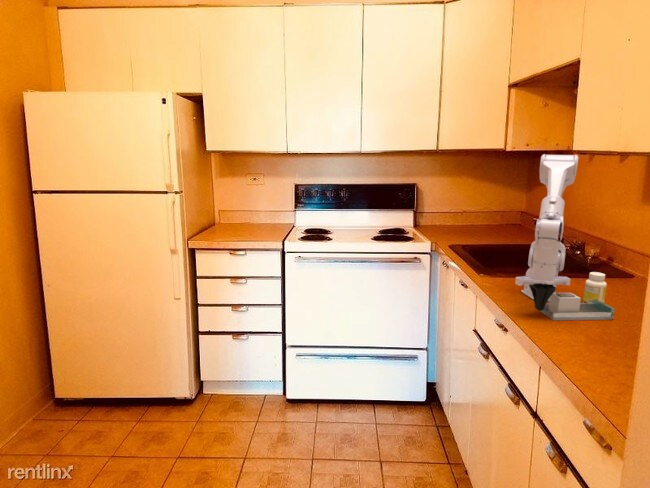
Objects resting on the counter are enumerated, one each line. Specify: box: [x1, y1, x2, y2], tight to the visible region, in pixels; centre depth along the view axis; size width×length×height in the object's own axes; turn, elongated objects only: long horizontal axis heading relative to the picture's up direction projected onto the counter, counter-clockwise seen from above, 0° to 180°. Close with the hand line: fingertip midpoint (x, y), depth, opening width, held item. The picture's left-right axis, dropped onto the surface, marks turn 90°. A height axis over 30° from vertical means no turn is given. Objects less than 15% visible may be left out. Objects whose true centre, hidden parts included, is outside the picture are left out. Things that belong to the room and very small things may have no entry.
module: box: [548, 292, 582, 313], centre depth 121 cm, size 4×6×5 cm
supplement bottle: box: [582, 271, 608, 303], centre depth 129 cm, size 5×5×10 cm
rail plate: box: [539, 299, 615, 321], centre depth 122 cm, size 17×8×3 cm, turn 93°
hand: (539, 309), depth 121 cm, fingers closed
